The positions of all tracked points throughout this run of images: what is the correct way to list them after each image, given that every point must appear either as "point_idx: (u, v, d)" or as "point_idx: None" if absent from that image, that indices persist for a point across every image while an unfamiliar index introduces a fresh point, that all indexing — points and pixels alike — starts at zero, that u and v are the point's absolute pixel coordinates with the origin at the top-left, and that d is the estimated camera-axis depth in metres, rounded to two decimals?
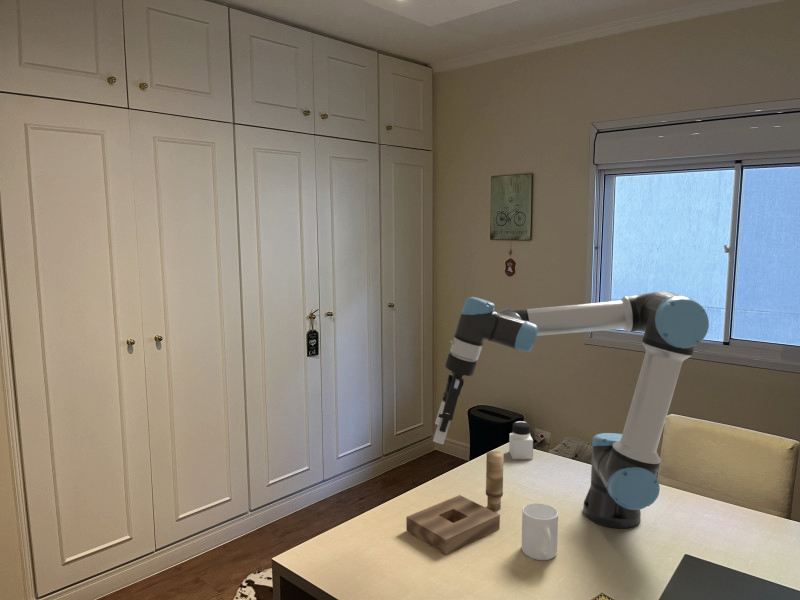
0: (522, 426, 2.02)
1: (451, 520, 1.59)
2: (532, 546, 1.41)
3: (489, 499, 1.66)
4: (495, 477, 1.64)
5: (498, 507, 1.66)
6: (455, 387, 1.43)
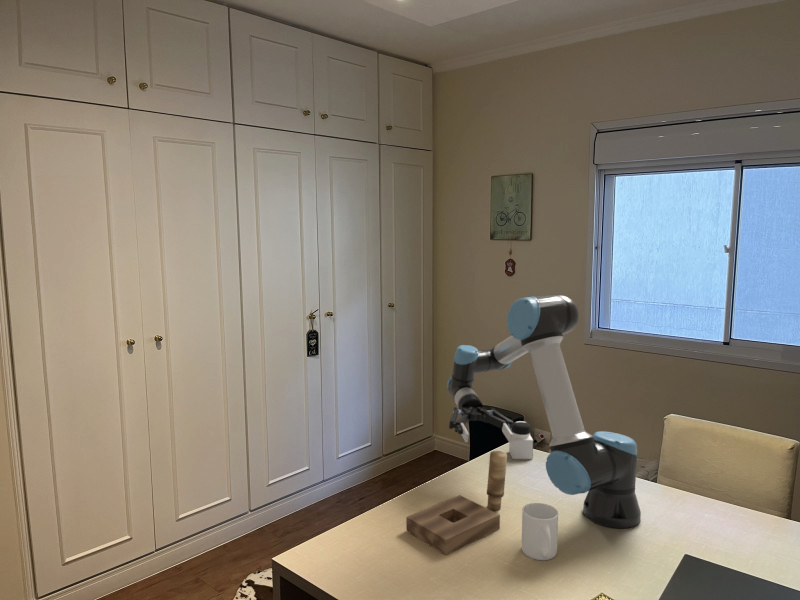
0: (522, 426, 2.02)
1: (451, 520, 1.59)
2: (532, 546, 1.41)
3: (490, 498, 1.66)
4: (497, 477, 1.64)
5: (498, 507, 1.66)
6: (453, 413, 1.83)
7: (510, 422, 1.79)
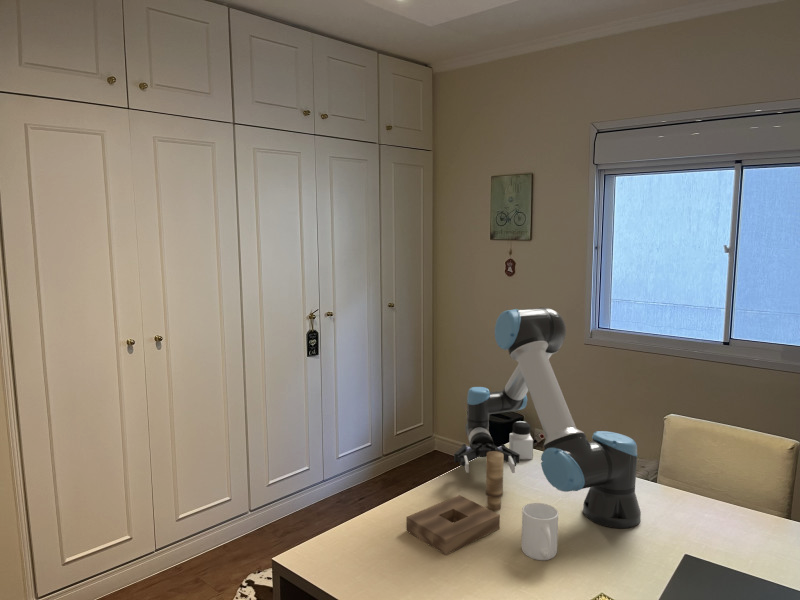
0: (522, 426, 2.02)
1: (451, 520, 1.59)
2: (532, 546, 1.41)
3: (489, 499, 1.66)
4: (495, 477, 1.64)
5: (498, 507, 1.66)
6: None
7: (516, 455, 1.79)
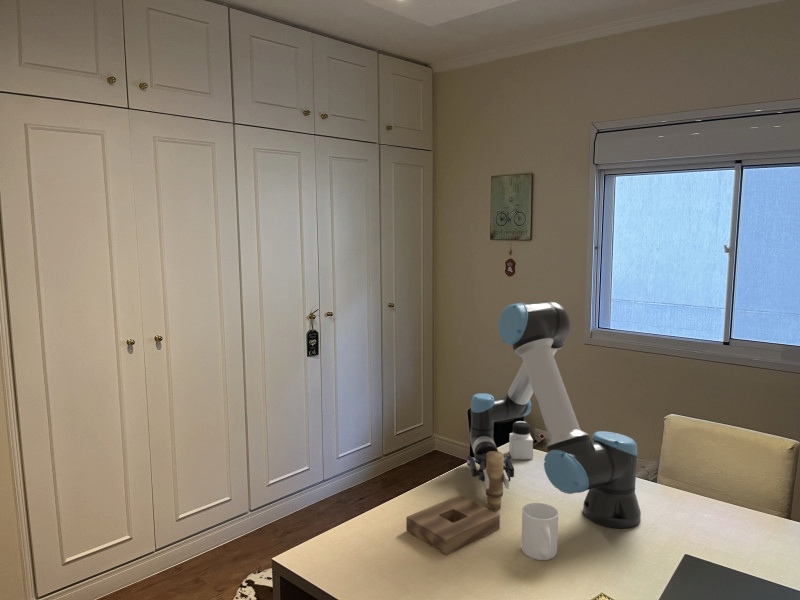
0: (522, 426, 2.02)
1: (451, 520, 1.59)
2: (532, 546, 1.41)
3: (489, 499, 1.66)
4: (495, 477, 1.64)
5: (498, 507, 1.66)
6: (469, 462, 1.76)
7: (510, 469, 1.69)
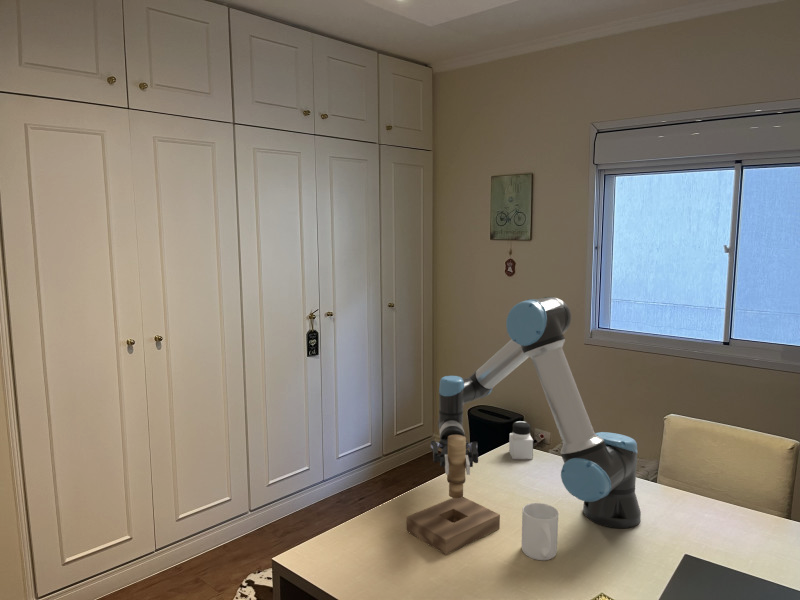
0: (522, 426, 2.02)
1: (451, 520, 1.59)
2: (532, 546, 1.41)
3: (450, 486, 1.55)
4: (456, 462, 1.53)
5: (460, 494, 1.55)
6: (432, 447, 1.65)
7: (474, 454, 1.57)
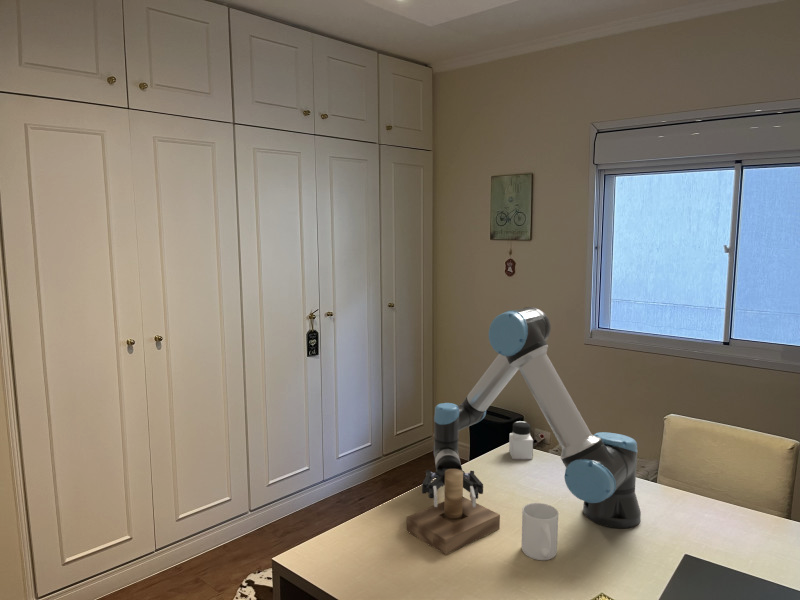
0: (522, 426, 2.02)
1: None
2: (532, 546, 1.41)
3: None
4: (453, 497, 1.52)
5: None
6: None
7: (479, 485, 1.57)
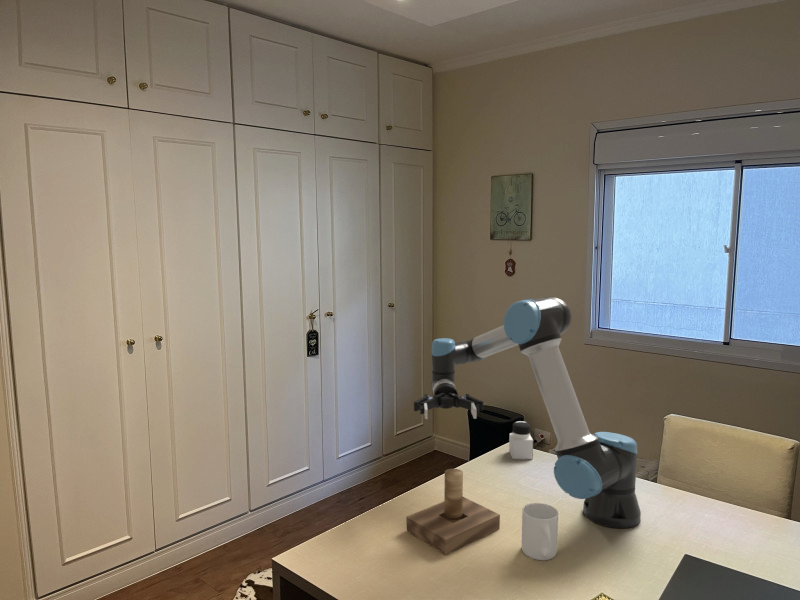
0: (522, 426, 2.02)
1: None
2: (532, 546, 1.41)
3: None
4: (453, 497, 1.52)
5: None
6: None
7: (480, 402, 1.69)
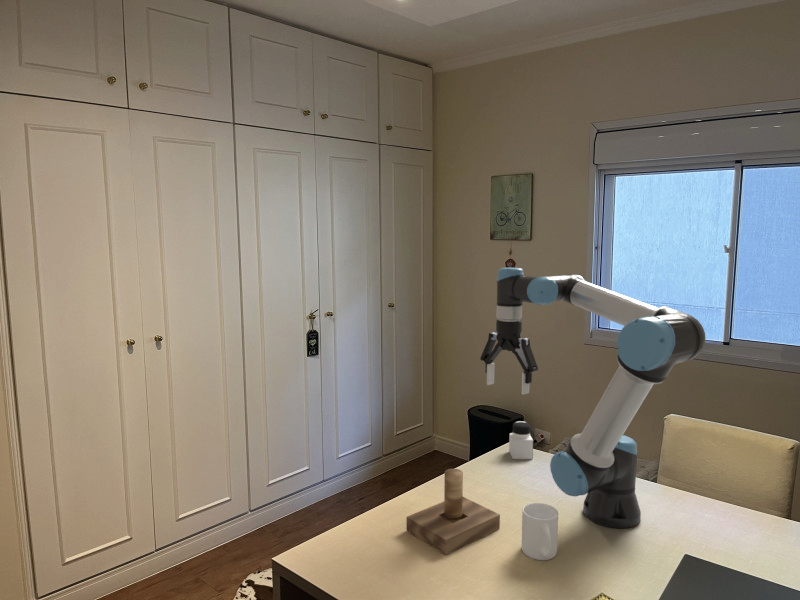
0: (522, 426, 2.02)
1: None
2: (532, 546, 1.41)
3: None
4: (453, 497, 1.52)
5: None
6: None
7: (530, 371, 1.68)
